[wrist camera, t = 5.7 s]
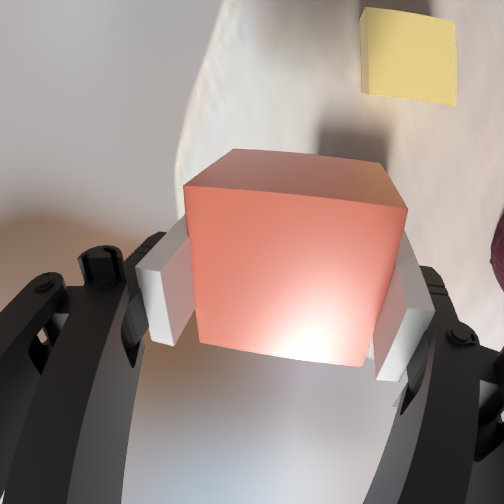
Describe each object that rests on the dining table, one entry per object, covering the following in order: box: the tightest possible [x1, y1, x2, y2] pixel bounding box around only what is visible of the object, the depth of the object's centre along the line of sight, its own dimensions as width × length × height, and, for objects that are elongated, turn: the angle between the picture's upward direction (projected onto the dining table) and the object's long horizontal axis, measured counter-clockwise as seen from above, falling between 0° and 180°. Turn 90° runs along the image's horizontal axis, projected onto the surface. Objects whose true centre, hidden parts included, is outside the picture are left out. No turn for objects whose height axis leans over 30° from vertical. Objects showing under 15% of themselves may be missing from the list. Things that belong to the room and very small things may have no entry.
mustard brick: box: [359, 7, 457, 107], centre depth 17 cm, size 6×6×5 cm
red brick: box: [183, 149, 408, 367], centre depth 12 cm, size 6×6×5 cm
